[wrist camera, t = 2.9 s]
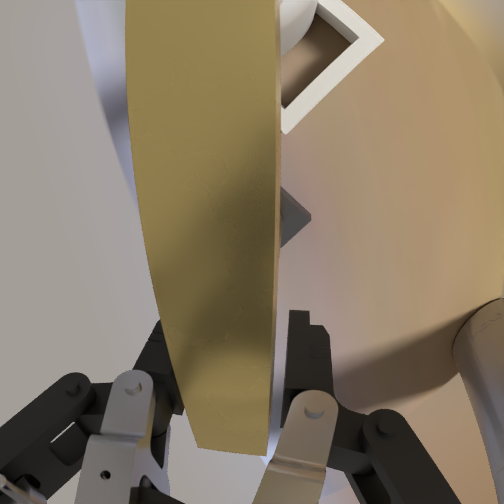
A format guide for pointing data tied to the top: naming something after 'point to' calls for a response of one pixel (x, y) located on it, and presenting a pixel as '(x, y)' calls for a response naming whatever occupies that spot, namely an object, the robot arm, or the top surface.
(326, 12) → the white rectangular frame
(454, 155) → the top surface
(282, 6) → the eye dropper bottle
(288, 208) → the key plate
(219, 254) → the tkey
